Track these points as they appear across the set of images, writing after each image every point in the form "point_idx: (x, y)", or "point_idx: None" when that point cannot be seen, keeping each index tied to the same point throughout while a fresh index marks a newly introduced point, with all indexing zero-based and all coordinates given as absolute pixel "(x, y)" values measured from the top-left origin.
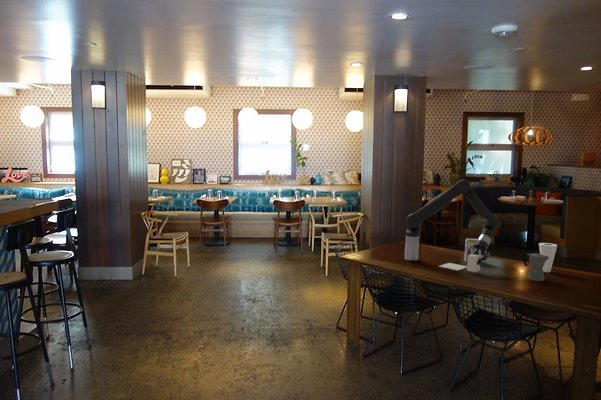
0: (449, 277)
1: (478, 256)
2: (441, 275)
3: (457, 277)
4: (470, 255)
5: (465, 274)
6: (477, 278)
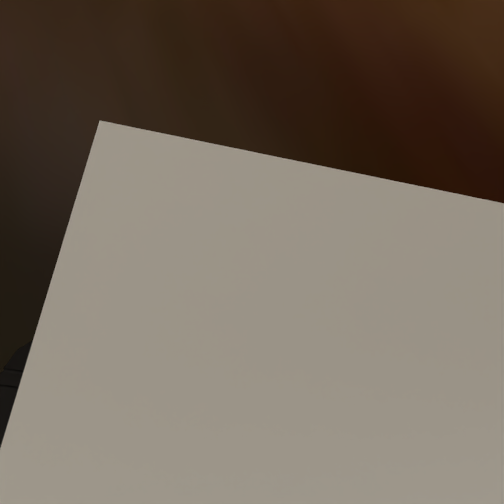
0: (344, 3)
1: (32, 375)
2: (445, 33)
3: (279, 41)
4: (417, 215)
5: None
6: (37, 124)
